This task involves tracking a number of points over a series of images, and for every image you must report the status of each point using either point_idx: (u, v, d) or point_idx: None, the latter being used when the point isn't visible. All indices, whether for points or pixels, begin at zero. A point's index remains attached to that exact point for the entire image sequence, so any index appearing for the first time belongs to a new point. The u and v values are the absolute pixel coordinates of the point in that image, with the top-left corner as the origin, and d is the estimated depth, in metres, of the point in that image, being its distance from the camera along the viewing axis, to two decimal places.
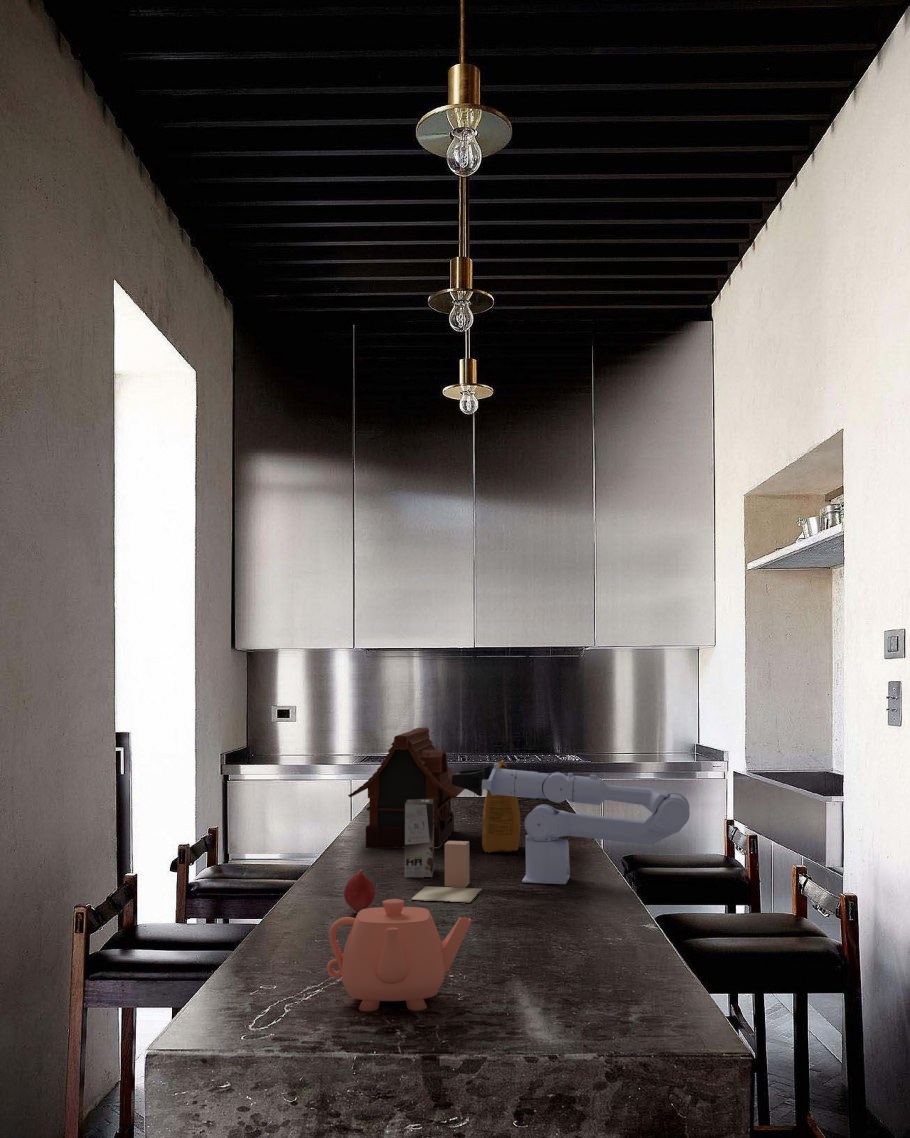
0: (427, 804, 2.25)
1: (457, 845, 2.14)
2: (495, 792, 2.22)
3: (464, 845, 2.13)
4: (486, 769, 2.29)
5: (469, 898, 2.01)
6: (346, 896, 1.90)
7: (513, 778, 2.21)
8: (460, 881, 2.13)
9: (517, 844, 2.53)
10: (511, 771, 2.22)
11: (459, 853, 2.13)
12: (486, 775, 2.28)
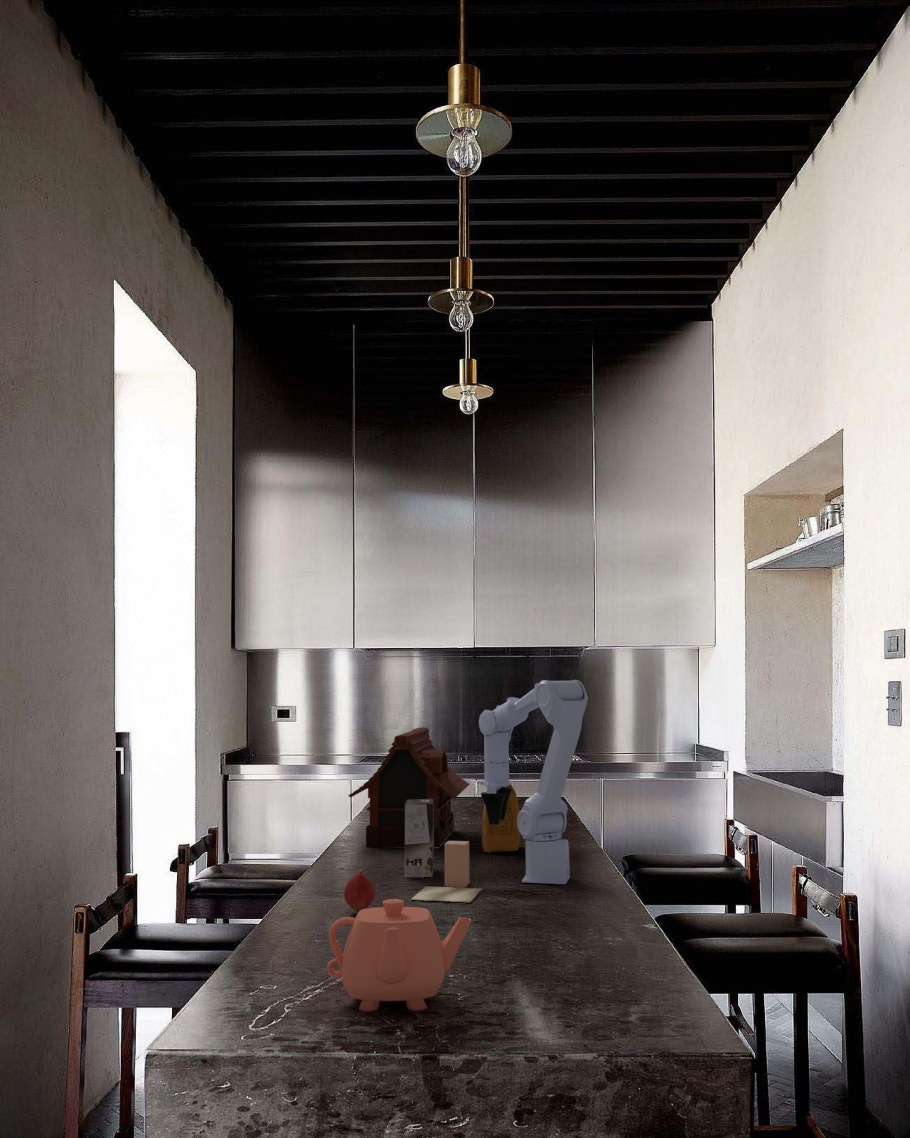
0: (427, 804, 2.25)
1: (457, 845, 2.14)
2: (504, 781, 2.34)
3: (464, 845, 2.13)
4: None
5: (469, 898, 2.01)
6: (346, 896, 1.90)
7: (489, 764, 2.34)
8: (460, 881, 2.13)
9: (517, 844, 2.53)
10: (484, 767, 2.36)
11: (459, 853, 2.13)
12: None
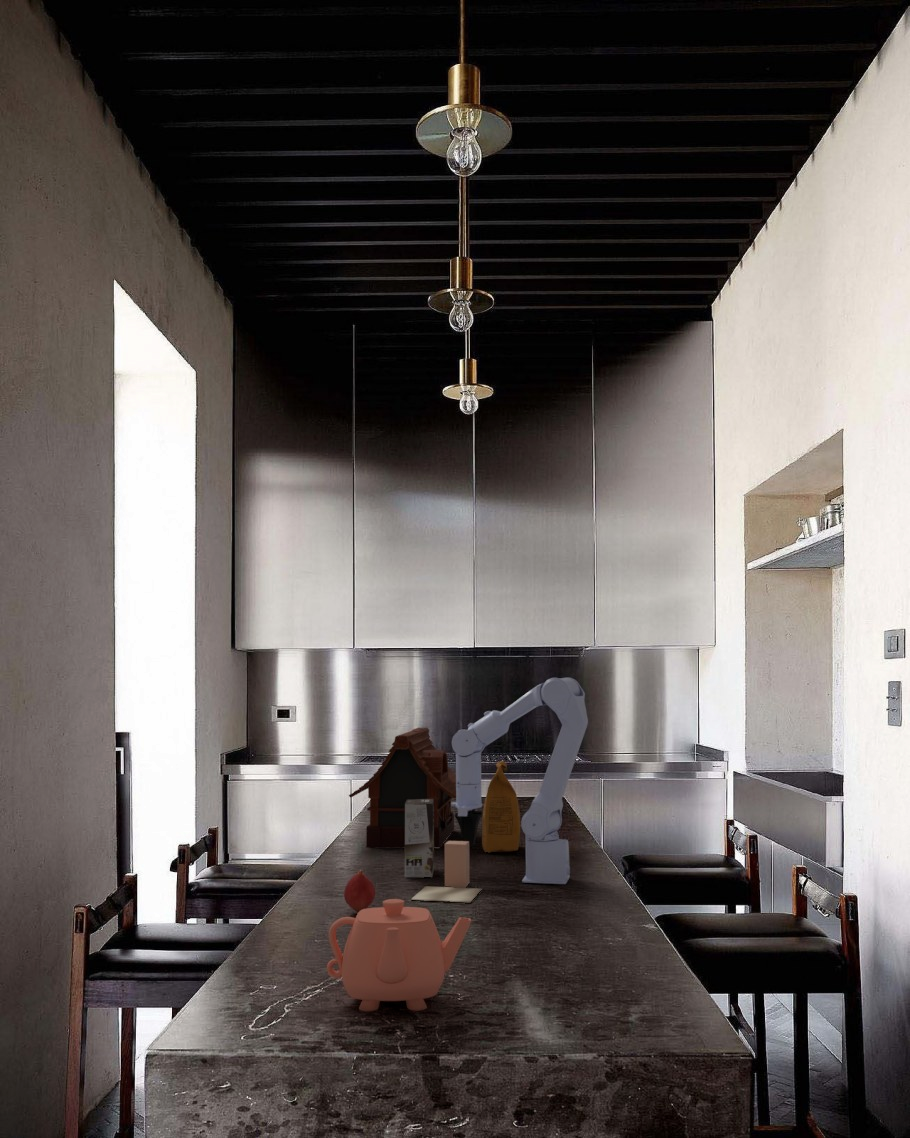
0: (427, 804, 2.25)
1: (457, 845, 2.14)
2: (476, 803, 2.26)
3: (464, 845, 2.13)
4: None
5: (469, 898, 2.01)
6: (346, 896, 1.90)
7: (460, 785, 2.27)
8: (460, 881, 2.13)
9: (517, 844, 2.53)
10: (456, 788, 2.28)
11: (459, 853, 2.13)
12: None
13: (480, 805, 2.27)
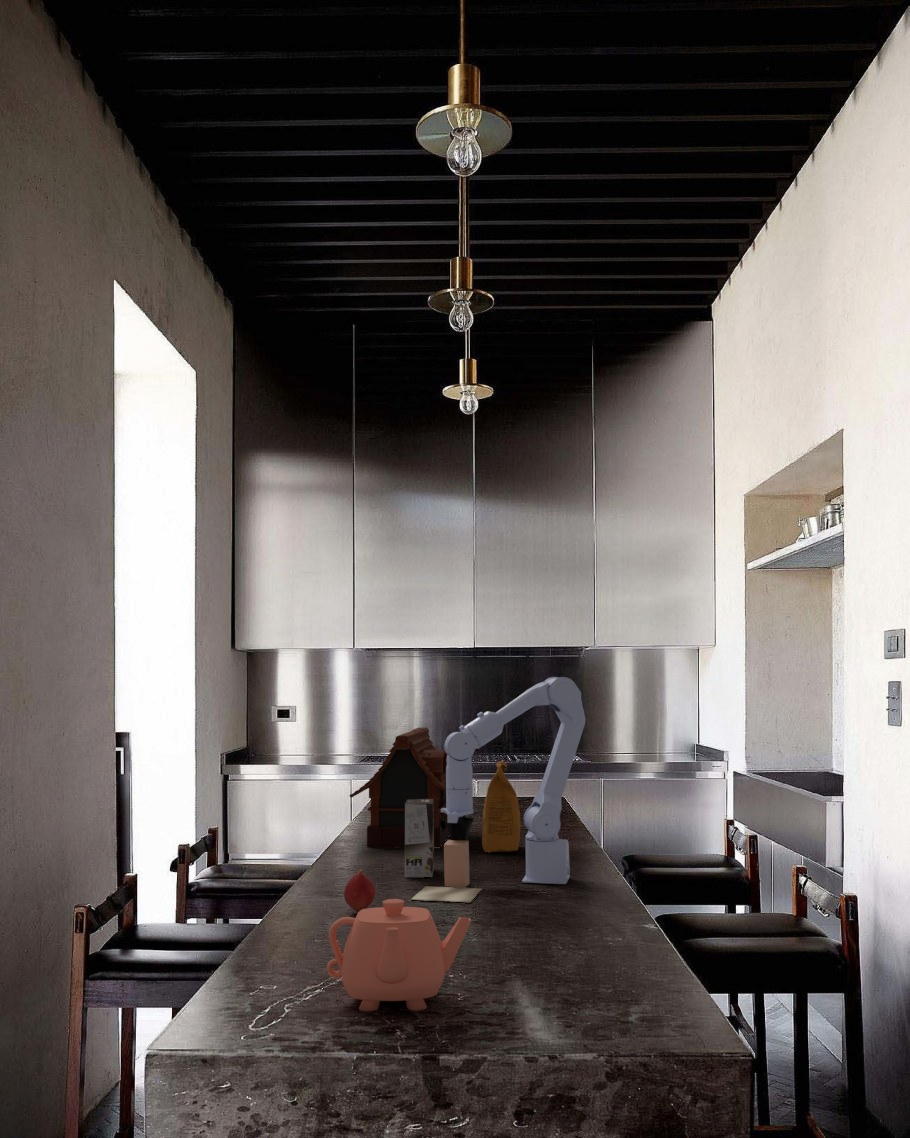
0: (427, 804, 2.25)
1: (456, 846, 2.13)
2: (467, 809, 2.17)
3: (463, 846, 2.13)
4: None
5: (469, 898, 2.01)
6: (346, 896, 1.90)
7: (450, 790, 2.17)
8: (460, 881, 2.13)
9: (517, 844, 2.53)
10: (446, 793, 2.19)
11: (458, 854, 2.13)
12: None
13: (471, 811, 2.17)
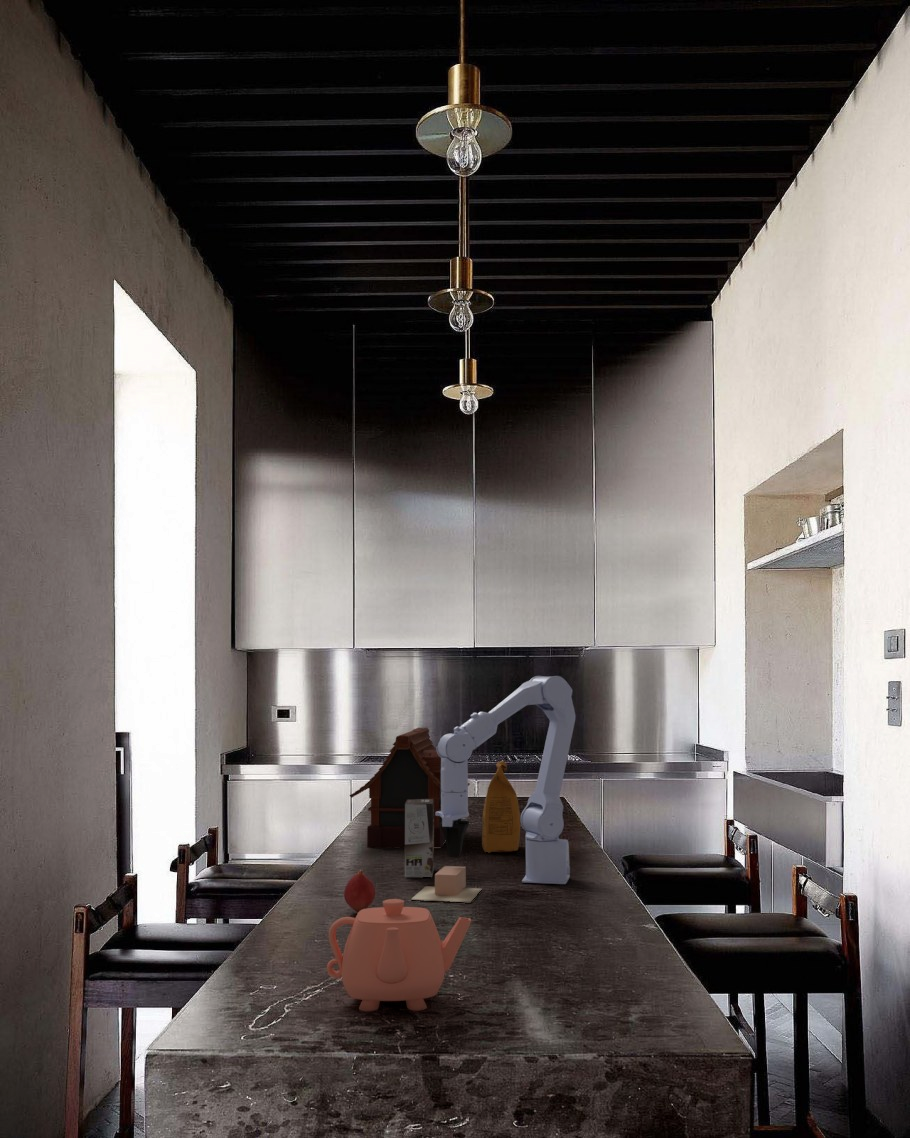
0: (427, 804, 2.25)
1: None
2: (462, 812, 2.12)
3: None
4: None
5: (469, 898, 2.01)
6: (346, 896, 1.90)
7: (445, 793, 2.12)
8: None
9: (517, 844, 2.53)
10: (441, 796, 2.14)
11: None
12: None
13: (466, 814, 2.12)
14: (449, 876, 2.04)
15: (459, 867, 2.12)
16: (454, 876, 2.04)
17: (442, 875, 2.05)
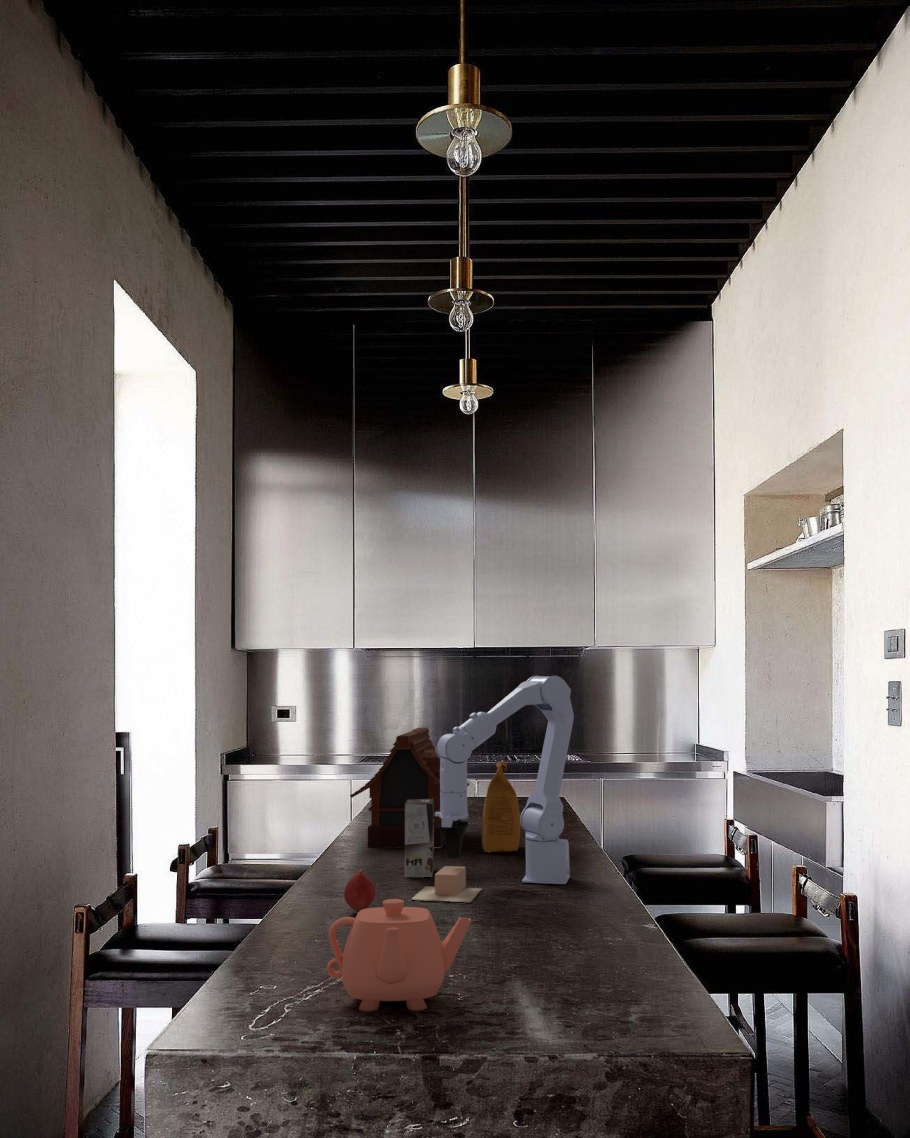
0: (427, 804, 2.25)
1: None
2: (461, 813, 2.11)
3: None
4: None
5: (469, 898, 2.01)
6: (346, 896, 1.90)
7: (444, 794, 2.12)
8: None
9: (517, 844, 2.53)
10: (440, 796, 2.13)
11: None
12: None
13: (466, 815, 2.12)
14: (449, 876, 2.04)
15: (459, 867, 2.12)
16: (454, 876, 2.04)
17: (442, 875, 2.05)
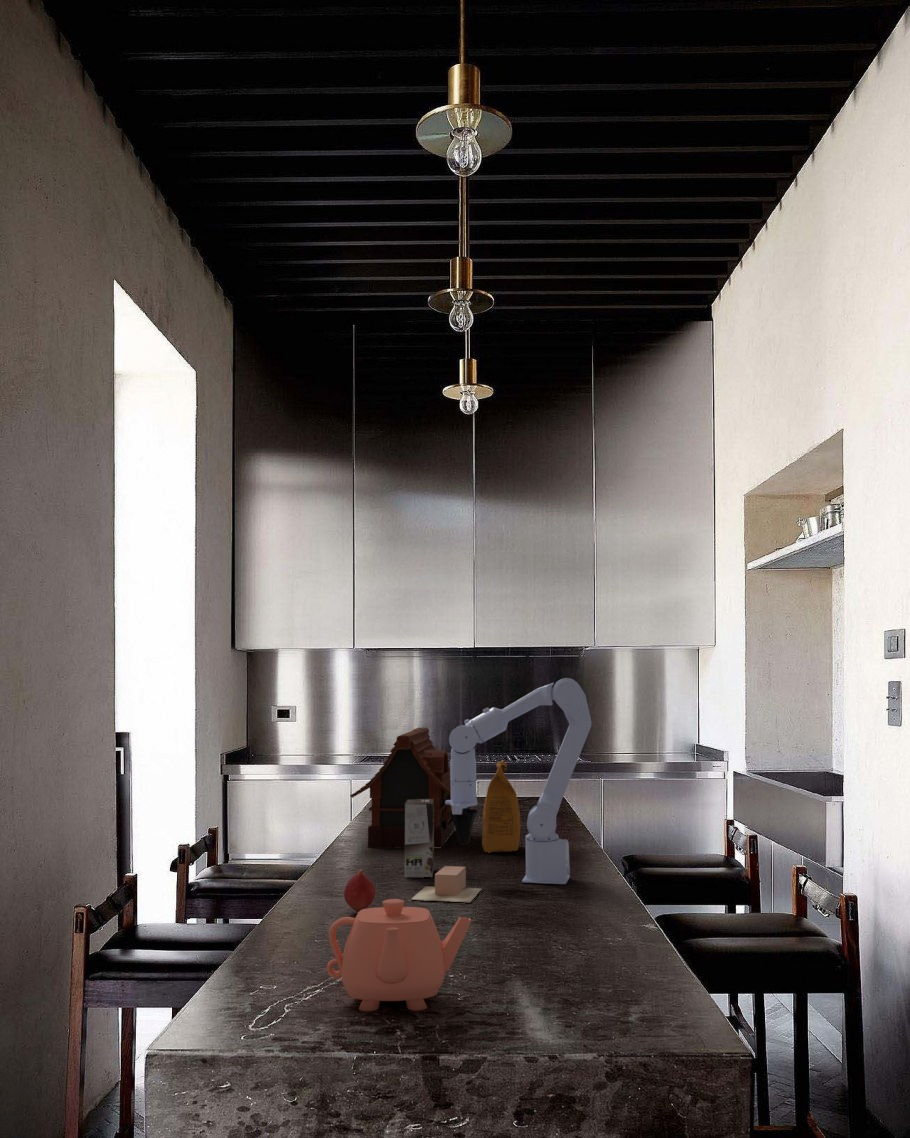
0: (427, 804, 2.25)
1: None
2: (471, 801, 2.21)
3: None
4: None
5: (469, 898, 2.01)
6: (346, 896, 1.90)
7: (455, 783, 2.21)
8: None
9: (517, 844, 2.53)
10: None
11: None
12: None
13: (475, 803, 2.22)
14: (449, 876, 2.04)
15: (459, 867, 2.12)
16: (454, 876, 2.04)
17: (442, 875, 2.05)
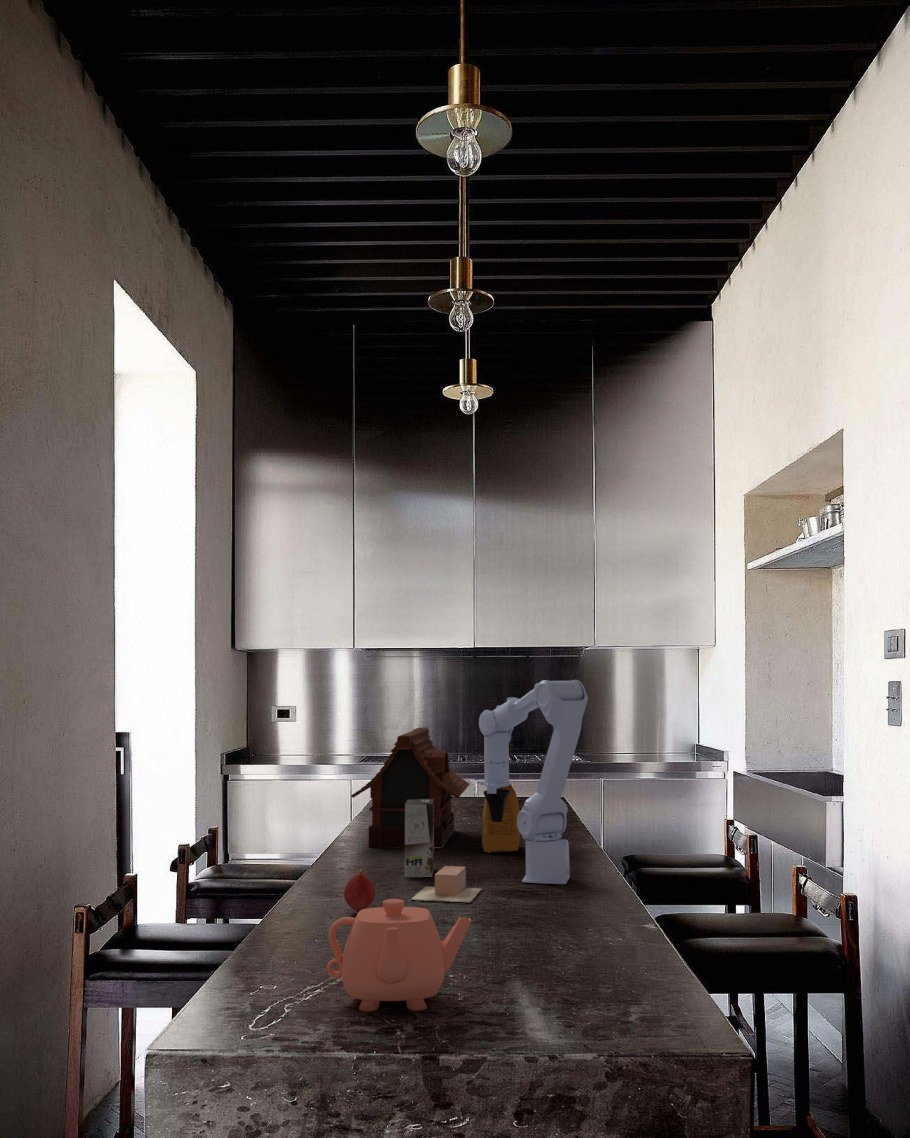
0: (427, 804, 2.25)
1: None
2: (504, 781, 2.34)
3: None
4: None
5: (469, 898, 2.01)
6: (346, 896, 1.90)
7: (489, 764, 2.34)
8: None
9: (517, 844, 2.53)
10: (484, 767, 2.36)
11: None
12: None
13: (508, 783, 2.34)
14: (449, 876, 2.04)
15: (459, 867, 2.12)
16: (454, 876, 2.04)
17: (442, 875, 2.05)
